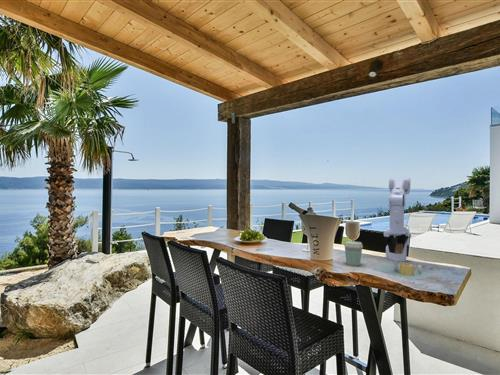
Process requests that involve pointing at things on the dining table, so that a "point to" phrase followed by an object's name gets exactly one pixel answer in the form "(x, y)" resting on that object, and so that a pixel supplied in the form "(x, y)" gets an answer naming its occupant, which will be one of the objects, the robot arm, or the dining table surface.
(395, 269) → the gear board
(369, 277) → the dining table surface
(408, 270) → the pale yellow block
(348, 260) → the coffee cup
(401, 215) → the robot arm
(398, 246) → the gear
